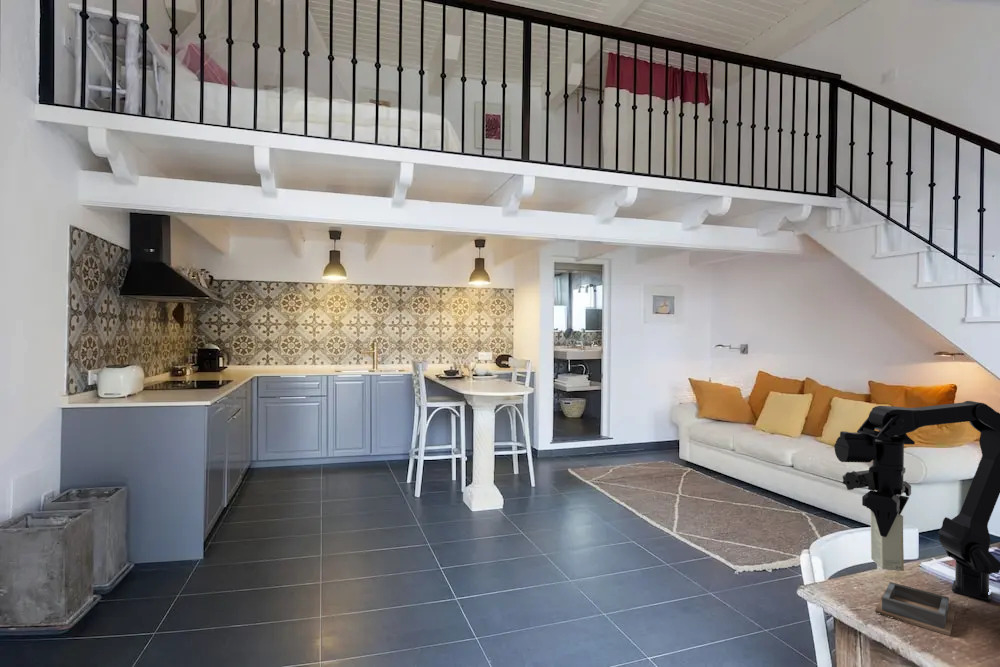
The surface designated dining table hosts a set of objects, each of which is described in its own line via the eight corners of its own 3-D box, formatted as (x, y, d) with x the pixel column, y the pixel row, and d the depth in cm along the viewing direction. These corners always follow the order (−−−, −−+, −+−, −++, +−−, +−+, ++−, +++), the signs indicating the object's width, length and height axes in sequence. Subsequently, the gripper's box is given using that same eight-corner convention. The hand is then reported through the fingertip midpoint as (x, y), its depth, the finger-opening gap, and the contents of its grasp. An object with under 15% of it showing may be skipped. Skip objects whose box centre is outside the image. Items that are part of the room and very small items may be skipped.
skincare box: (904, 572, 120) (905, 516, 120) (881, 569, 121) (882, 515, 121) (890, 559, 126) (891, 507, 126) (869, 558, 127) (869, 506, 127)
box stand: (885, 592, 122) (885, 578, 121) (955, 612, 113) (955, 597, 113) (875, 613, 113) (875, 598, 113) (950, 635, 105) (950, 619, 105)
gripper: (856, 450, 135) (855, 513, 136) (835, 463, 122) (835, 533, 122) (911, 458, 127) (911, 524, 128) (896, 473, 114) (895, 547, 114)
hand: (887, 531), depth 123 cm, fingers closed on skincare box, 7 cm apart
